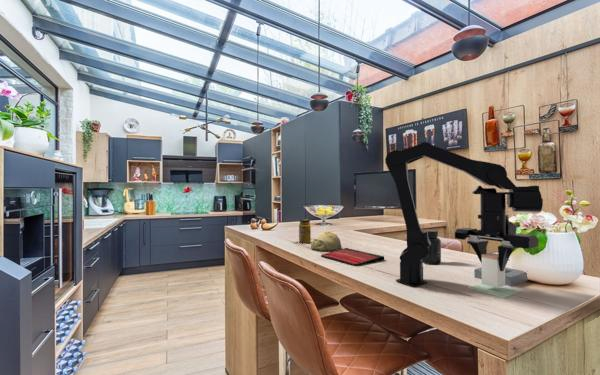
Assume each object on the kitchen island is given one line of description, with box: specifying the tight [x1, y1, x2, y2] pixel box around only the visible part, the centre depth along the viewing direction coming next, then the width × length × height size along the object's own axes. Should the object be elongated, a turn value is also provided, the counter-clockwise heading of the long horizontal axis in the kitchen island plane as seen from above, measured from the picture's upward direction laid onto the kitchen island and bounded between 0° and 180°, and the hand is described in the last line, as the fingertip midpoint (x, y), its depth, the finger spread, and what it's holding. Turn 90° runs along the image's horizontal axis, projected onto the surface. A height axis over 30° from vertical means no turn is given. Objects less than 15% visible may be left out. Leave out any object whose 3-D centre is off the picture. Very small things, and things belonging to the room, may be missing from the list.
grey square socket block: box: [473, 266, 529, 287], centre depth 92 cm, size 10×10×3 cm
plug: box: [481, 252, 506, 288], centre depth 82 cm, size 4×4×8 cm
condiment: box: [293, 218, 312, 245], centre depth 159 cm, size 7×8×12 cm
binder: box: [320, 247, 385, 267], centre depth 123 cm, size 16×2×21 cm
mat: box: [467, 282, 522, 299], centre depth 82 cm, size 9×9×1 cm
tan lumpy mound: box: [310, 231, 343, 252], centre depth 142 cm, size 14×12×8 cm
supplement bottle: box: [421, 229, 442, 265], centre depth 114 cm, size 7×7×12 cm
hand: (493, 269), depth 82 cm, fingers closed on plug, 4 cm apart
